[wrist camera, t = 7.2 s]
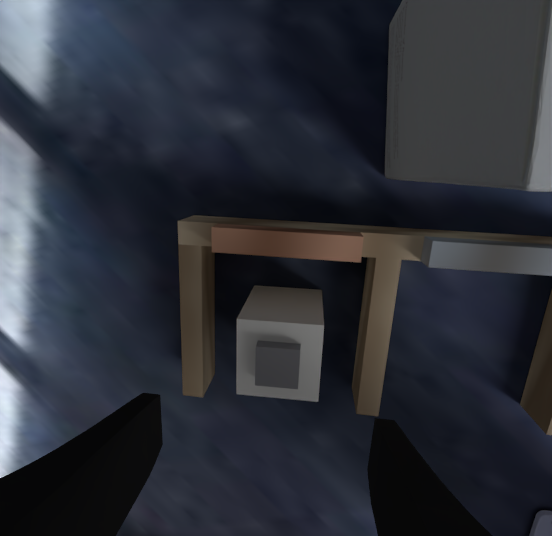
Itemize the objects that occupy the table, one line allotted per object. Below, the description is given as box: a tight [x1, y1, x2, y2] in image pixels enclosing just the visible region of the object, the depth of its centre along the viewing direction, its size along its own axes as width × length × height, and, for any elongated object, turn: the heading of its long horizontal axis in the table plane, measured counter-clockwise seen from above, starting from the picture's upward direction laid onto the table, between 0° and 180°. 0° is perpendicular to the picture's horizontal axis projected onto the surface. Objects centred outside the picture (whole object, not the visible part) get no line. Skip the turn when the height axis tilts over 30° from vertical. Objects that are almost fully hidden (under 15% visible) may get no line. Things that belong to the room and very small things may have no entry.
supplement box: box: [385, 0, 552, 192], centre depth 11 cm, size 7×7×13 cm
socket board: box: [178, 215, 552, 435], centre depth 19 cm, size 21×10×4 cm, turn 88°
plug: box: [236, 285, 324, 402], centre depth 18 cm, size 4×4×6 cm
